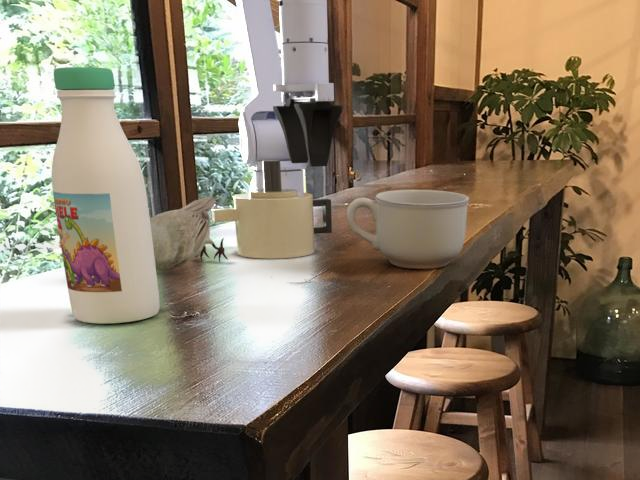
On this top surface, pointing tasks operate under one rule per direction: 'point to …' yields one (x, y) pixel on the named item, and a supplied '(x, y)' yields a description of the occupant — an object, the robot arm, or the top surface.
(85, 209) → the milk bottle
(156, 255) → the decorative bird
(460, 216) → the teacup
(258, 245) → the kettle
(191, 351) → the top surface
